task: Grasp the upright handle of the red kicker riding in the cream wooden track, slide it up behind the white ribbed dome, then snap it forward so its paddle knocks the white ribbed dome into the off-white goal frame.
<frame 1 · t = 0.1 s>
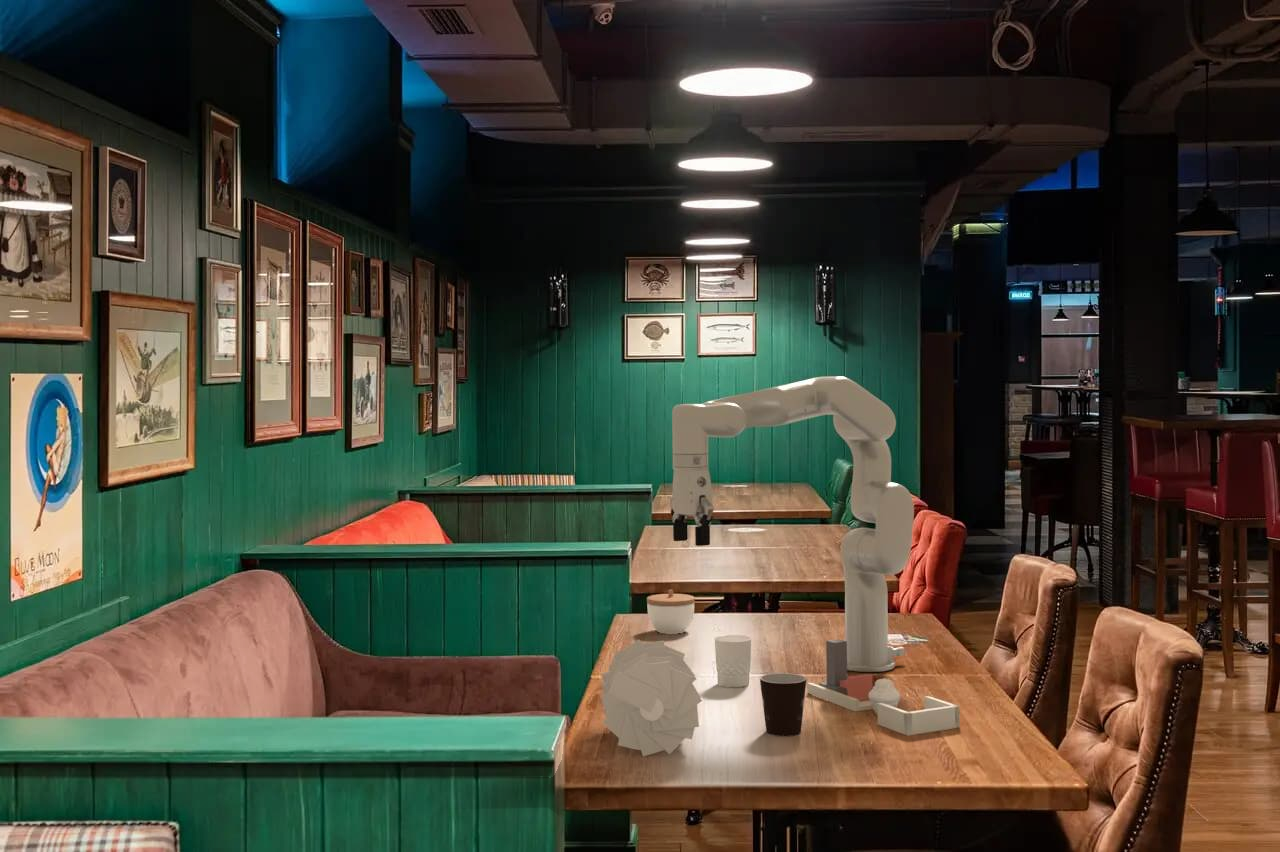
hand: (691, 543, 273), 31 cm above the table, tool pointing down, fingers open, 9 cm apart
track: (846, 700, 263), on the table
white ribbed dome: (884, 714, 252), on the table
kicker: (844, 668, 263), point 6 cm above the table, slide at 0.0 cm
lidded bowl: (671, 632, 339), on the table
coffee mug: (787, 730, 241), on the table
goal: (918, 725, 242), on the table
spiral staircase: (650, 743, 233), on the table
white cup: (733, 685, 278), on the table
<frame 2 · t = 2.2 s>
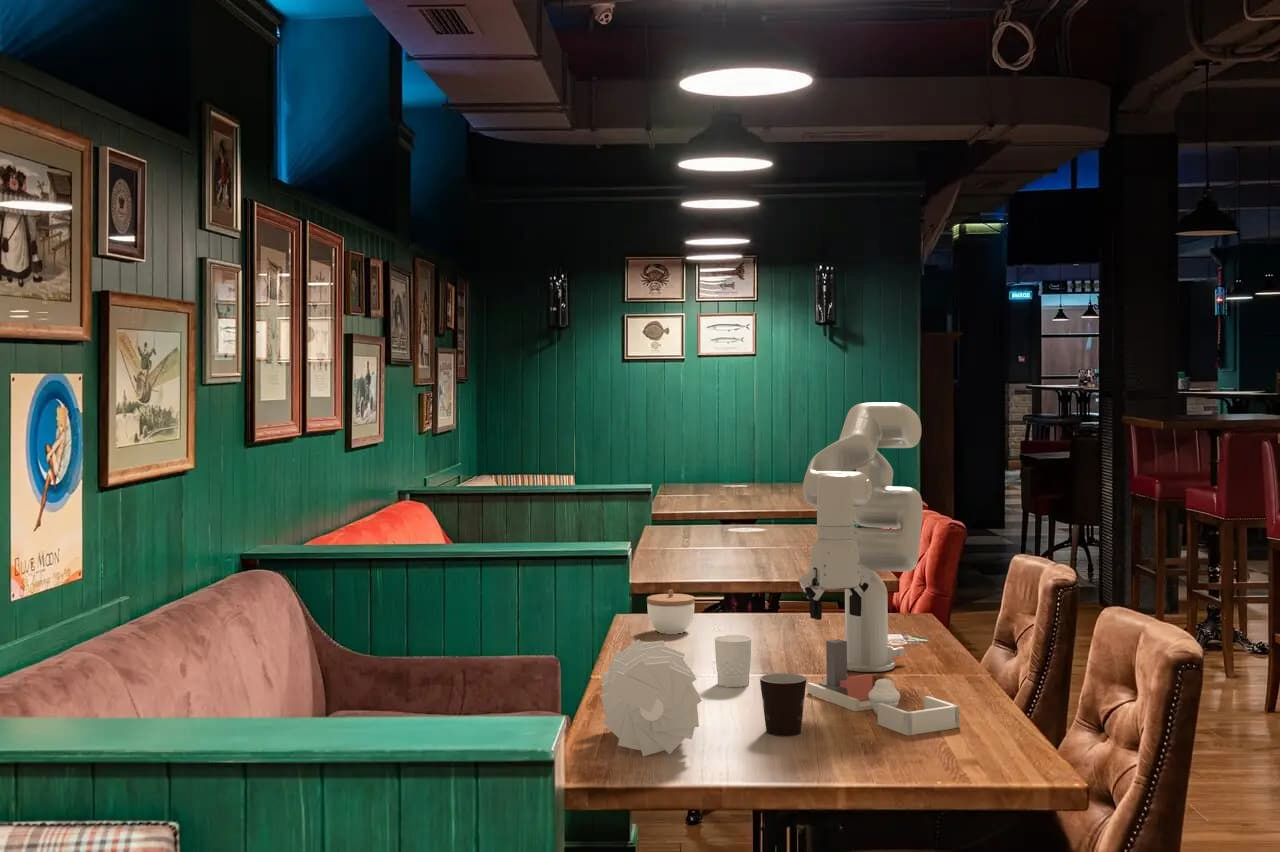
hand: (835, 617, 265), 17 cm above the table, tool pointing down, fingers open, 9 cm apart
nothing on the table moved.
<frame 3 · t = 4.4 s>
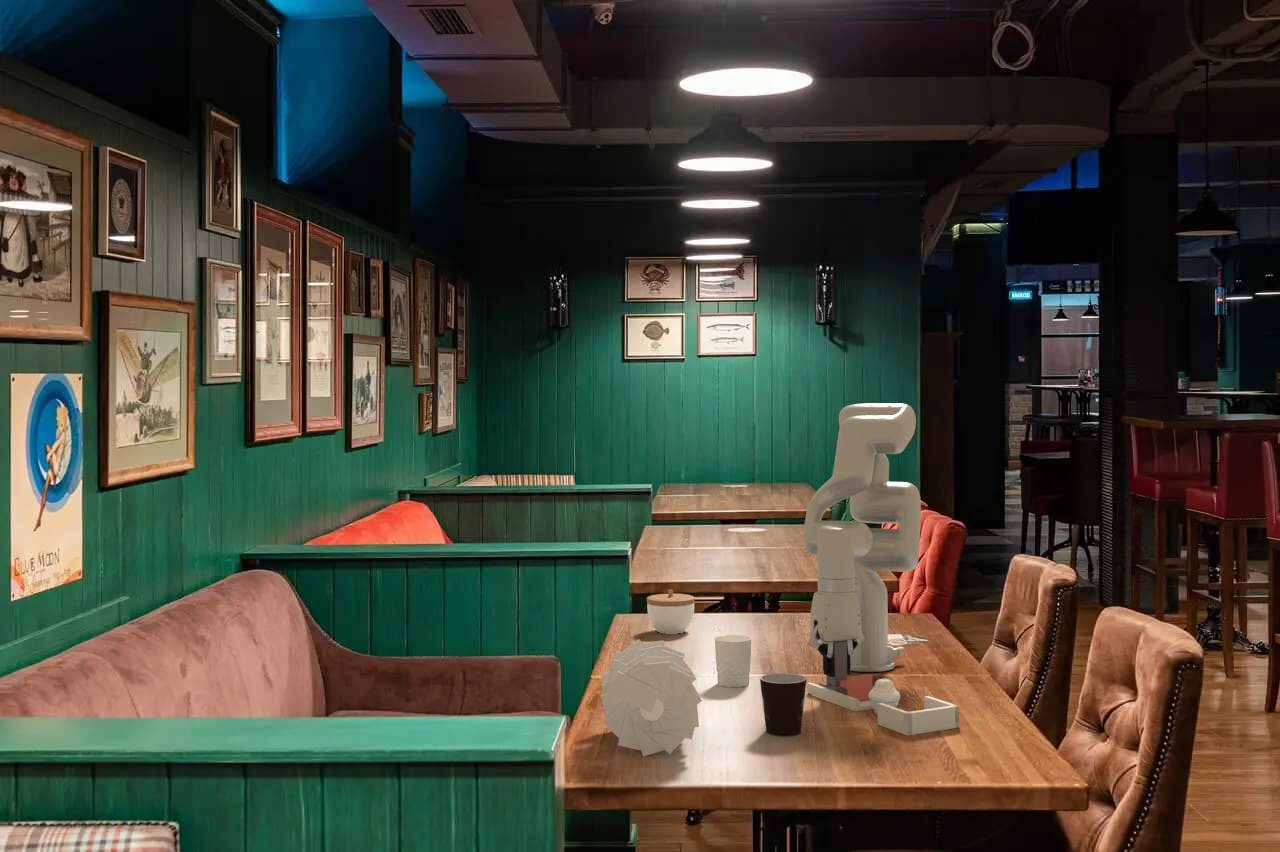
hand: (836, 673, 266), 5 cm above the table, tool pointing down, fingers closed on kicker, 3 cm apart
kicker: (844, 668, 263), point 6 cm above the table, slide at 0.0 cm, touching gripper
everything else where it was.
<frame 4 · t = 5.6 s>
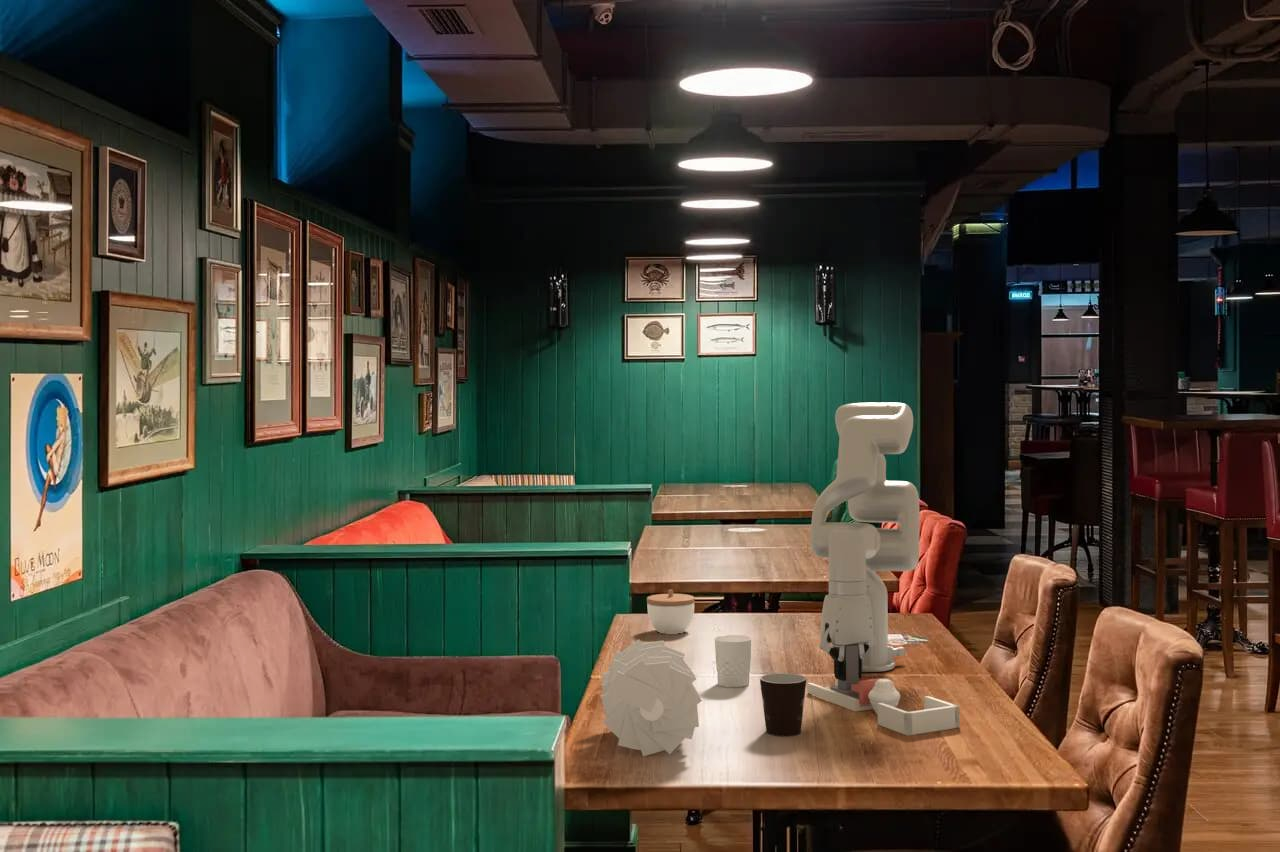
hand: (848, 677, 262), 5 cm above the table, tool pointing down, fingers closed on kicker, 3 cm apart
kicker: (856, 672, 260), point 6 cm above the table, slide at 4.0 cm, touching gripper
everything else where it was.
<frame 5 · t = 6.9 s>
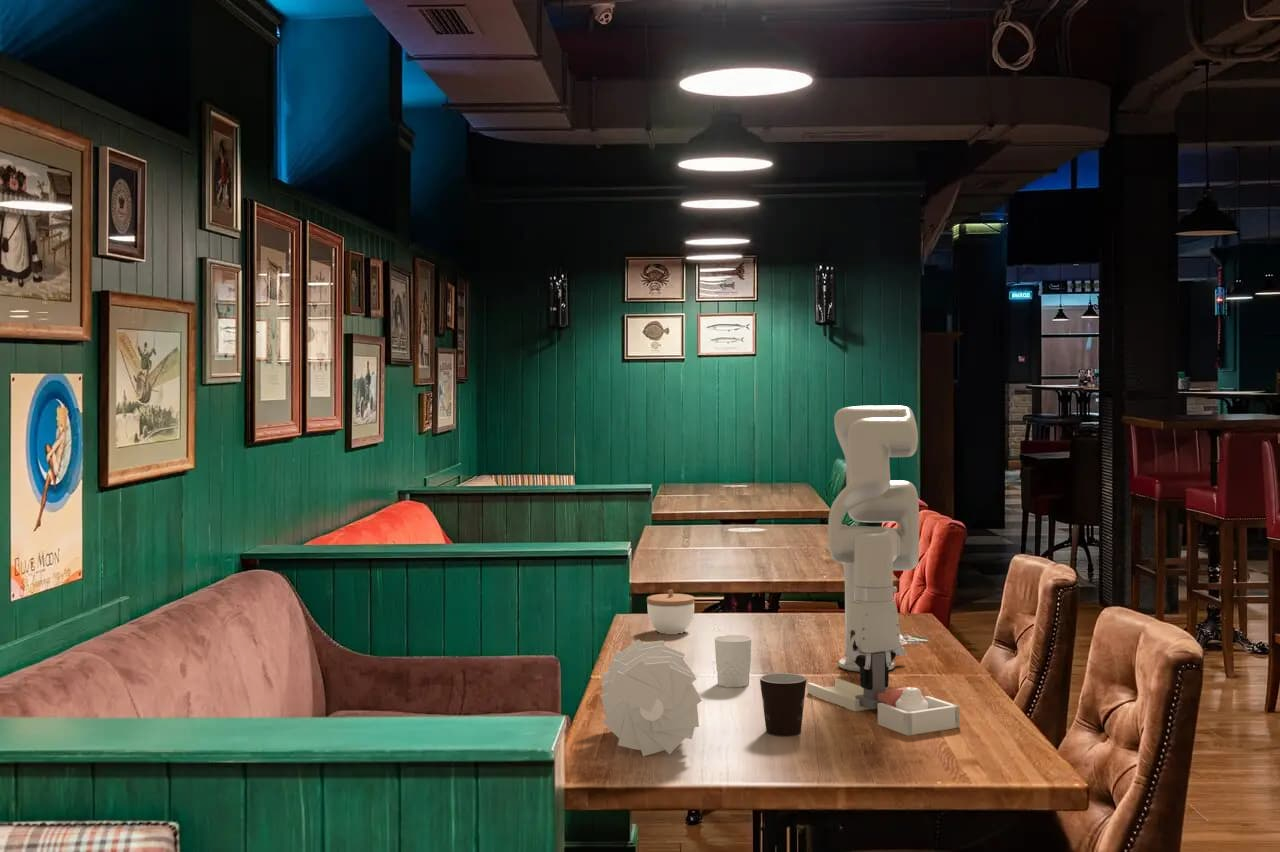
hand: (874, 686, 254), 5 cm above the table, tool pointing down, fingers closed on kicker, 3 cm apart
white ribbed dome: (912, 724, 244), on the table, touching kicker
kicker: (882, 681, 252), point 6 cm above the table, slide at 12.8 cm, touching gripper, white ribbed dome
everything else where it was.
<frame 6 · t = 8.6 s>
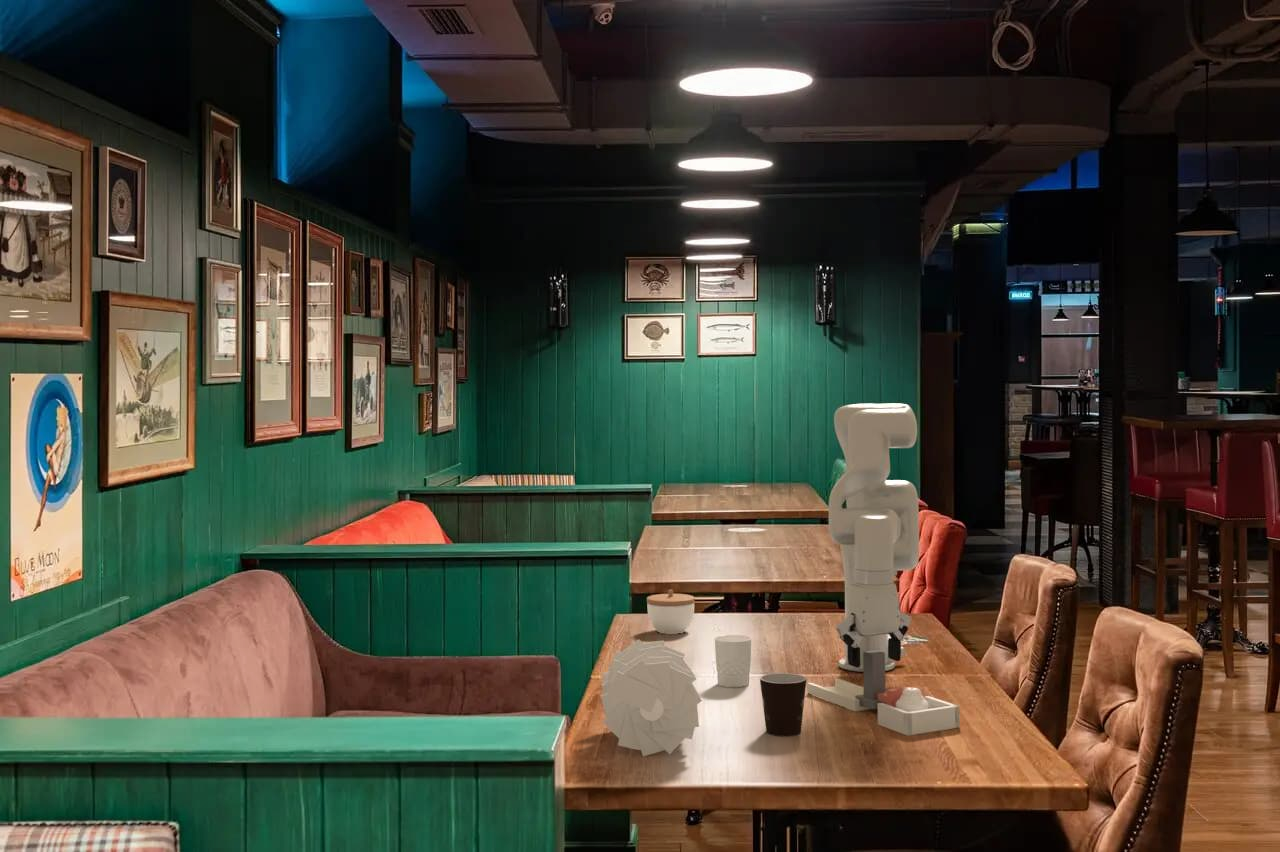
hand: (874, 662, 255), 9 cm above the table, tool pointing down, fingers open, 9 cm apart
white ribbed dome: (912, 724, 244), on the table
kicker: (882, 681, 252), point 6 cm above the table, slide at 12.8 cm
everything else where it was.
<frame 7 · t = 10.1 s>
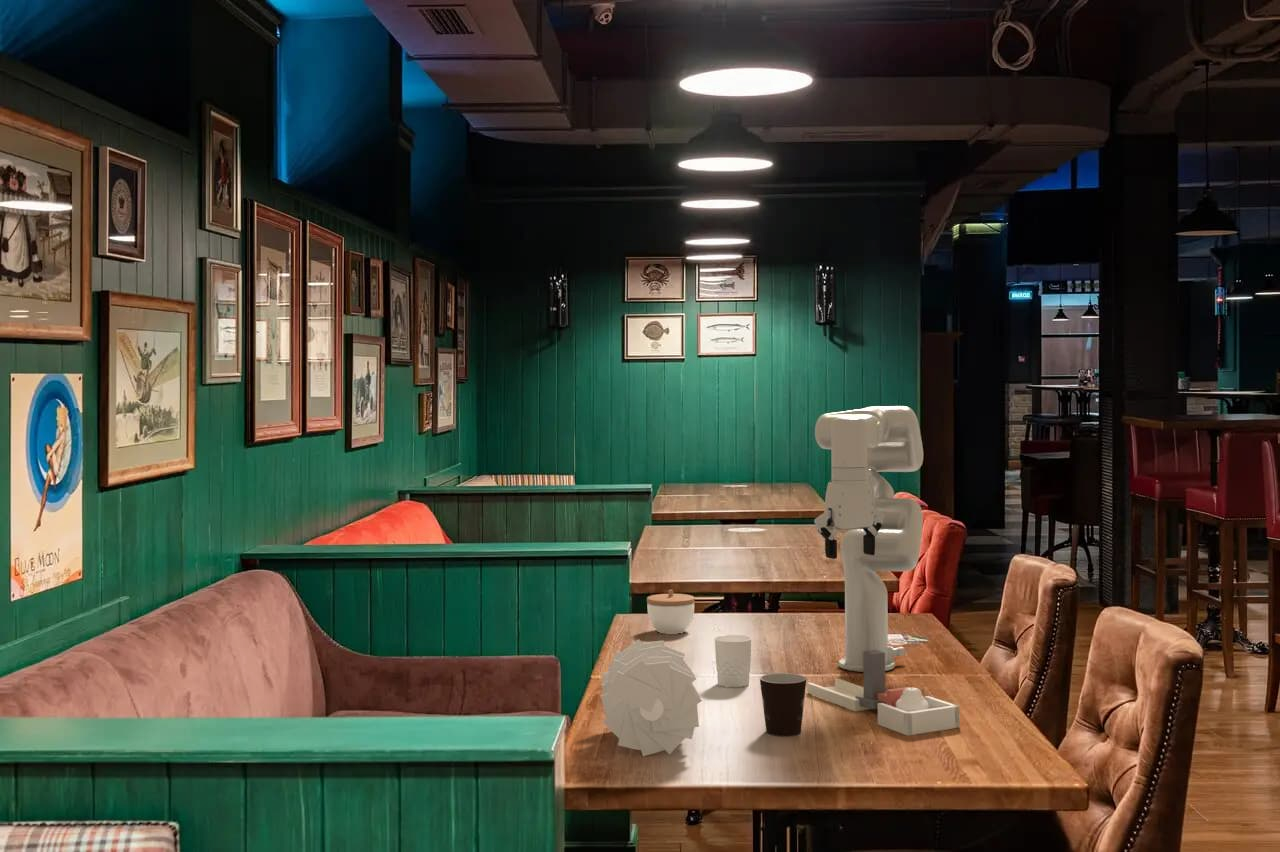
hand: (850, 556, 273), 28 cm above the table, tool pointing down, fingers open, 9 cm apart
nothing on the table moved.
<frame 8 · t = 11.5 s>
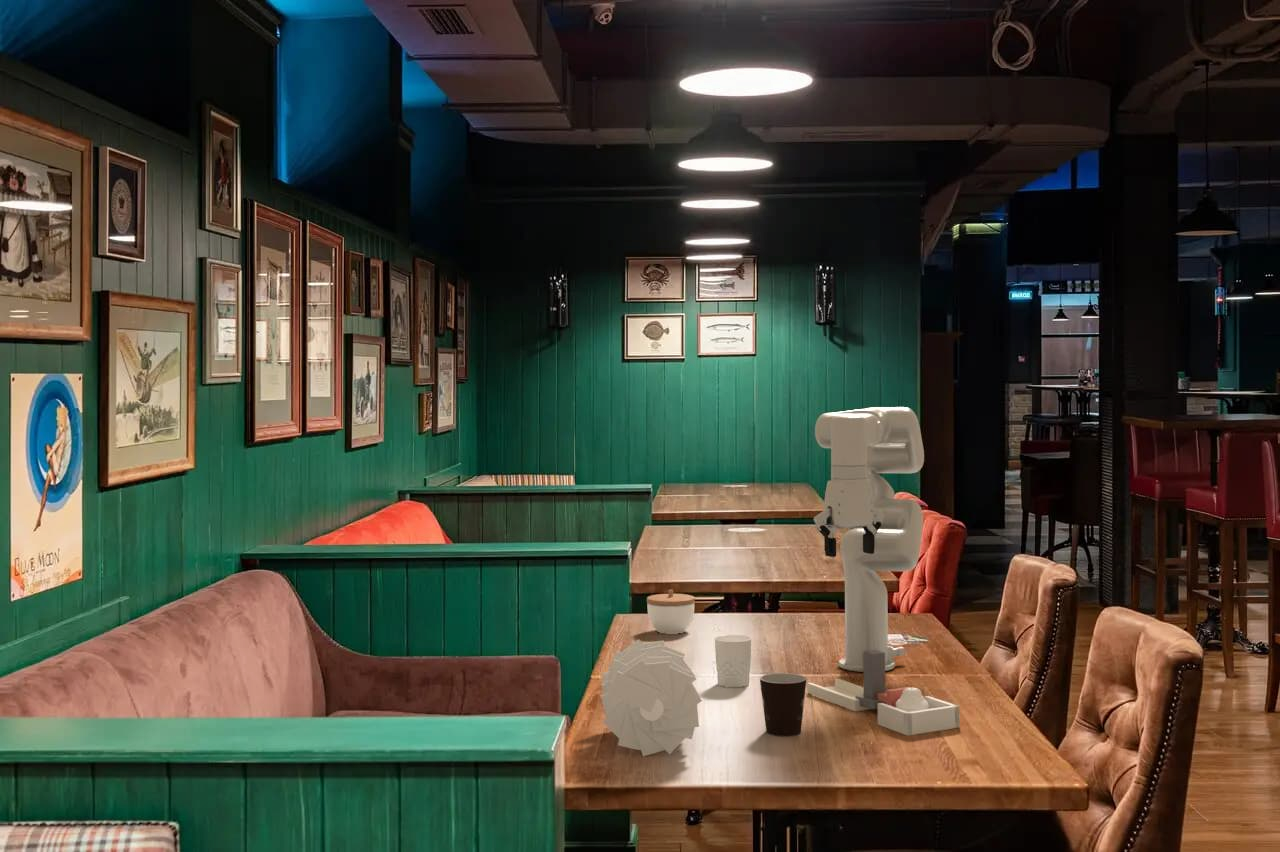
hand: (849, 554, 273), 28 cm above the table, tool pointing down, fingers open, 9 cm apart
nothing on the table moved.
at the end: white ribbed dome inside the target area (2.0 cm from its centre), on the table; kicker slide at 12.8 cm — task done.
